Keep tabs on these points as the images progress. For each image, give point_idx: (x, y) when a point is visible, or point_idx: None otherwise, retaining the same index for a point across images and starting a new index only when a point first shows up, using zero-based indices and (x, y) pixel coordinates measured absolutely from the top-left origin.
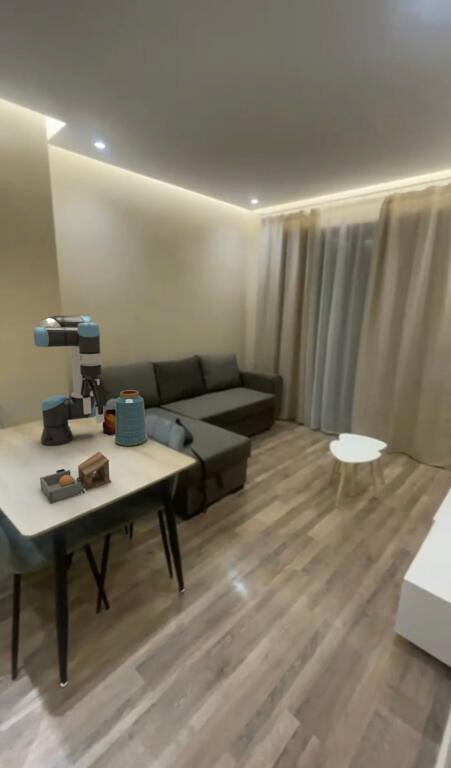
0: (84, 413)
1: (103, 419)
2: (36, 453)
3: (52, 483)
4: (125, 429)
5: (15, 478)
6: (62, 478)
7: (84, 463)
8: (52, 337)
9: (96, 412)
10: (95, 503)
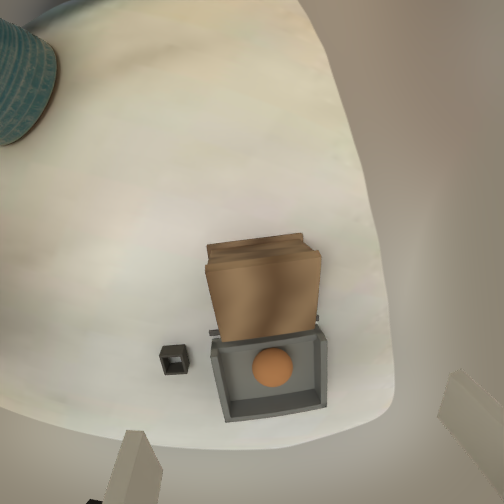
0: (160, 475)
1: (471, 384)
2: (14, 368)
3: (227, 385)
4: (3, 100)
5: None
6: (280, 385)
7: (232, 325)
8: None
9: (489, 464)
10: (383, 300)
